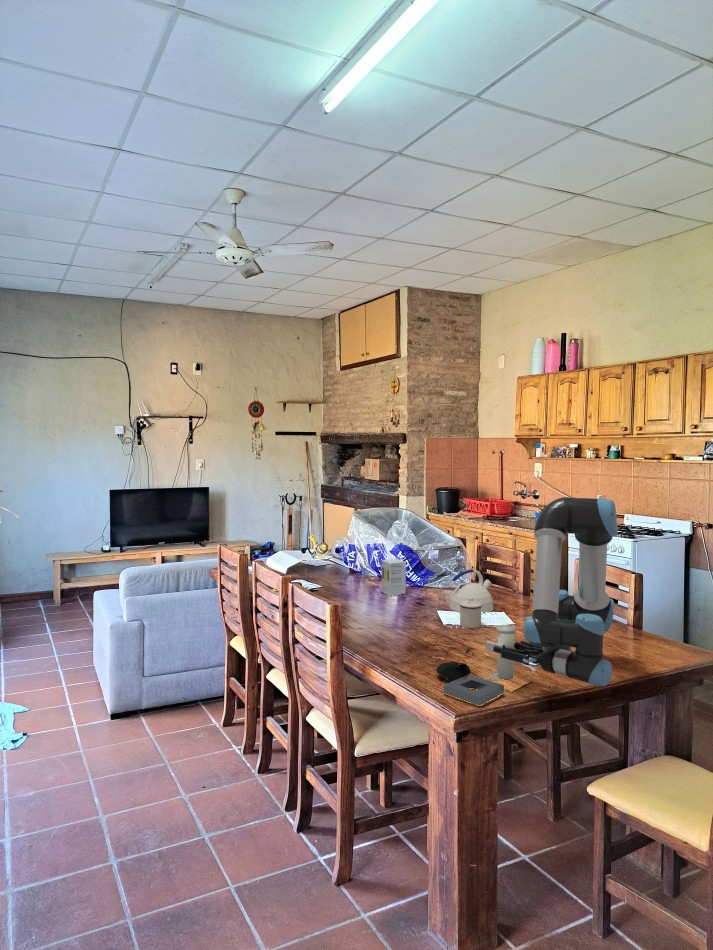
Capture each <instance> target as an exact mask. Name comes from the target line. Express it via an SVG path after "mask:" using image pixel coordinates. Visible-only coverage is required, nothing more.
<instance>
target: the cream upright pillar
mask: <svg viewBox="0 0 713 950" xmlns="http://www.w3.org/2000/svg"><path fill="white" fill-rule="evenodd" d="M496 631H497V632H498V633H497V638H498V644H500V645H505V647H506V648H512V649H514V642H515V634H516V632H517V631H516V626H513V625H510V624H499V625H497V626H496ZM514 662H515V661H512V660H509V659H505V658H502V657H501V654H498V653H497V672H498V675H497V676H498V678H500V679H505V680H510V679H513V677H514V676H515V675H514V674H515V673H514V666H515V663H514Z"/></svg>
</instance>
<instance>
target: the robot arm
mask: <svg viewBox="0 0 713 950" xmlns="http://www.w3.org/2000/svg"><path fill="white" fill-rule="evenodd" d="M617 518H618V517H617V510H616V504H615V502H614V501H613V499H610V498H602V497H598V498H590V497H589V498H588V497H587V498H585V497H583V498H582V497H569V496H566V497H565V496H564V497H558V498H556V499H553V501H550V503H548V504H547V505H546V506H545V507H543V509H542V510H541V512H540V513H539V515H538V517H537V519H536V521H535V525H534V535H533V536H534V538H535V539H536V554H535V567H534V582H533V595H532V597H533V598H532V611H531V615H530V616H526V617H525V618H524V622H523V637H524V638H523V639H524V640H525V641H523V640H521V641H520V642H519V641H516V642H515V641H514V649H512V648H506V647H505V645H500V644H498V637H496V638H495V642H491V641H488V640H487V641H486V642H485V651H487V652H492V653H495V654H497V655H498V654H501V657H502V658H505V659H509V660H512V661H514V662H516V663H521V664H523V665H526V666H529V665H530V663H532V664H534V665H540V666H541V670H543V671H544V672H547V673H551V674H556V675H558V676H562V677H565V679H569V678H570V679H573V680H577V681H579V682H583V683H586V684H588V685H594V686H598V687H605V686H607V685H609V683H610V681H611V680H612V677H613V667H612V663H611V662H610V661H609V660H607V659H605V658H604V635H605V633H606V632H609V631H610V629H611V627H612V623H613V619H614V611H615V602H614V600H613V599H612V598H610V595H609V594H608V592H607V591H606V587H607V586H606V583H607V559H608V557H607V556H608V553H607V552H608V544H610V542H612V541H613V538H614V537H616V536H618V532H619V530H618V528H619V527H618V520H617ZM566 534H573V535H574V538H575V540H576V541H577V542H578V543H579V545H578V547H579V550H578V552H579V553H578V554H579V555H578V556H579V557H578V569H579V570H578V589H577V590H576V591H575V592H574V595H569V593H568V591H567V590H566V589H560V588H561V586H560V584H561V569H562V568H561V567H562V566H561V564H562V562H561V561H562V544H563V541H565V540H566ZM572 648H575V652H574V651H573V650H572Z"/></svg>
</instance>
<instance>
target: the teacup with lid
mask: <svg viewBox="0 0 713 950" xmlns="http://www.w3.org/2000/svg"><path fill="white" fill-rule="evenodd" d="M481 607H482V605H481V603H479V602H476V601H475V600H473V598H471V597H470V598H468V600H466V601H464V602H461V603H460V612H459V625H460V626H461V627H463V628H467V629H477V628H480V627H481V626H482V613H481Z"/></svg>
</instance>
